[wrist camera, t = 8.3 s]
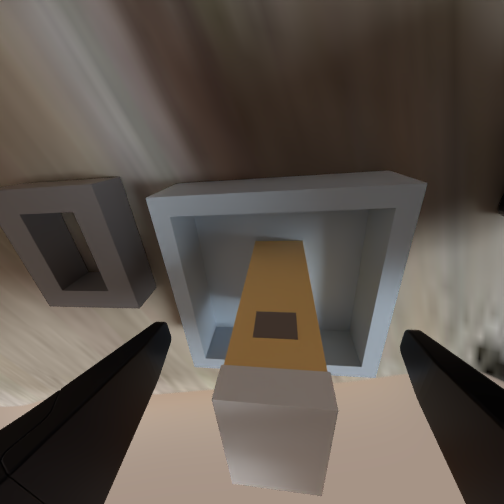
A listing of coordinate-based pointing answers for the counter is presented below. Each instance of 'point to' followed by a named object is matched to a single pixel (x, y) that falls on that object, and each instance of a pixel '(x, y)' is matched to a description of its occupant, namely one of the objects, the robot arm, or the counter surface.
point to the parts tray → (315, 246)
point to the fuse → (276, 379)
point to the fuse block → (64, 249)
